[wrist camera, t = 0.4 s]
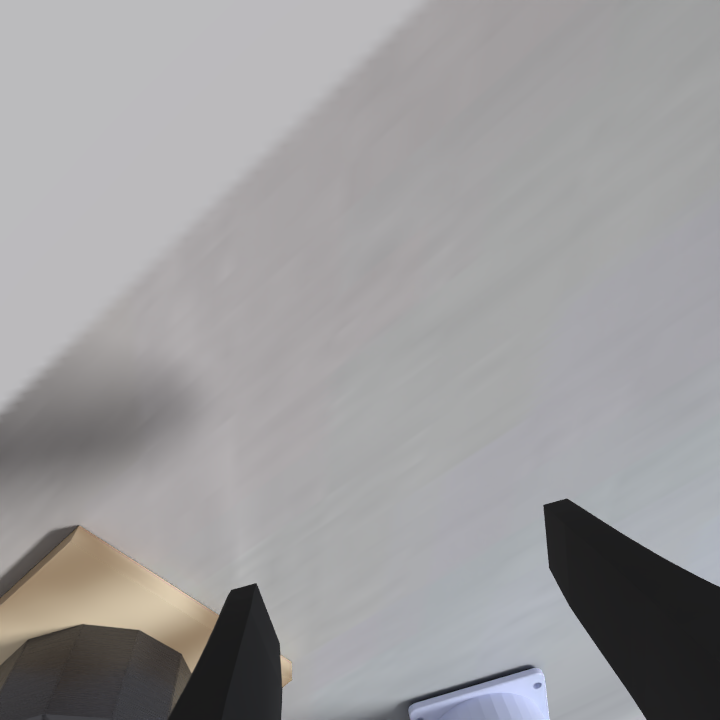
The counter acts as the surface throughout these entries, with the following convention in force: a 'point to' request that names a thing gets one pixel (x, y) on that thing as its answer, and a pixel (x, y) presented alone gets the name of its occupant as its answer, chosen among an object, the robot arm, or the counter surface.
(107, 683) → the ring
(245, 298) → the counter surface
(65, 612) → the square wooden board
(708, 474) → the counter surface
